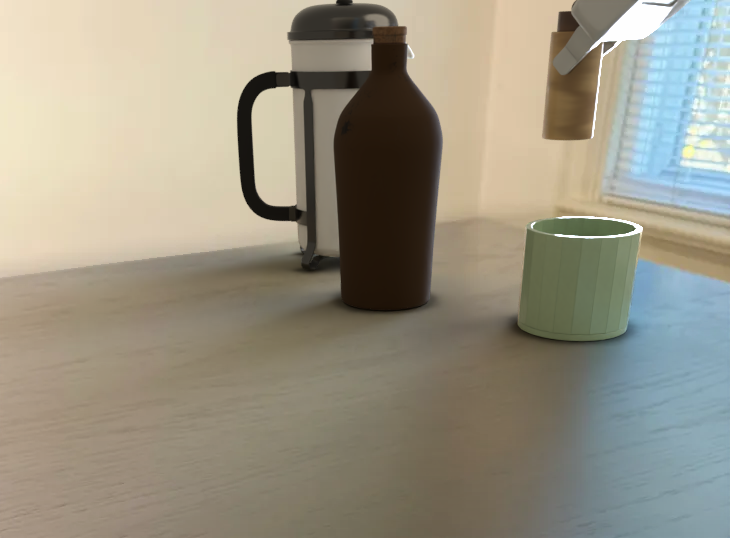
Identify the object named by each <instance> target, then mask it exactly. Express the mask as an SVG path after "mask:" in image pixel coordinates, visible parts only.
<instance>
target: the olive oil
mask: <svg viewBox="0 0 730 538" xmlns="http://www.w3.org/2000/svg"><path fill="white" fill-rule="evenodd" d="M407 35H408V27H407V26H405V25H398V26H384V27H373V44H371V64H372V70H371V73H370V75H369V77H368V78H367V80H366V81H365V82H364V84H363V85H362V86H361V87H360V89H359V90H358V91H357V93H356V94H355V95H354V96H353V98H352V99H351V100H350V101H349V103H348V104H347V105H346V106H345V108H344V109H343V111H342V112H341V114H340V116H339V119H338V122H337V126H336V130H335V134H334V143H333V147H334V164H335V180H336V196H337V214H338V232H339V252H340V257H339V275H340V276H339V277H340V298H341V301H342V302H343V303H344V304H346V305H347V306H350V307H353V308H357V309H363V310H369V311H370V310H372V311H400V310H408V309H412V308H418V307H421V306H423V305H426V304H427V303H428V302H429V301H430V298H431V289H432V275H433V274H432V273H433V260H434V247H435V246H434V245H435V236H436V235H435V234H436V223H437V211H438V199H439V190H440V189H439V188H440V178H441V169H442V157H443V144H444V138H443V137H444V136H443V130H442V126H441V121H440V117H439V115H438V113H437V111H436V109H435V108H434V106H433V105H432V103H431V102H430V101H429V99H428V98H427V97H426V96H425V94H424V93H423V92H422V90H420V88H419V87H418V86H417V84H416V83H415V82H414V81H413V79H412V78H411V76H410V74H409V72H408V59H407V50H408V45H409V44H408V42H407Z"/></svg>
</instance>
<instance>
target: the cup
mask: <svg viewBox="0 0 730 538" xmlns="http://www.w3.org/2000/svg"><path fill="white" fill-rule="evenodd" d="M643 230H644V229H643V227H642V226H641V225H639V224H637V223H634V222H631V221H627V220H622V219H616V218H608V217H599V216H598V217H597V216H596V217H595V216H557V217H547V218H540V219H539V218H538V219H535V220H533V221H530V222H528V223H527V224H525V227H524V239H523V250H522V261H521V272H520V282H519V283H520V284H519V294H518V307H517V326H518V328H519V329H521V331H524V332H525V333H528V334H530V335H533V336H536V337H541V338H545V339H550V340H557V341H570V342H594V341H603V340H604V341H605V340H609V339H614V338H618V337H620V336H622V335H623V334H625V333H626V332H627V330H628V324H629V322H630V316H631V308H632V307H631V306H632V304H633V303H632V302H633V295H634V290H635V289H634V288H635V282H636V275H637V269H638V263H639V257H640V249H641V243H642V237H643Z"/></svg>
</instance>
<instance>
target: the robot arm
mask: <svg viewBox="0 0 730 538" xmlns="http://www.w3.org/2000/svg"><path fill="white" fill-rule="evenodd" d="M575 1H576V0H575ZM575 1H574V2H575ZM691 1H692V0H577V1H576V2H575V4H574V6H573V7H572V6H571V8H572V9H571V8H570V11H571V13H572V15H573V17H574V18H575V20H576V21H577V22H578V24H579V25H580V26H579V27H578V28H577V29H576V30H575V32H574V33H573V35H572V36H571V38H570V40H569V41H568V43H567V44H566V46H565V47H564V48H563V49H562V50H561V51H560V52H559V54H558V55H557V56H556V57H555V58H554V59H553V66H554V67H555V68H556V70H557V71H558V72H559V73H560V74H561V75H566V74H570V73H571V72H572V71H573V70H574V69H575V68H576V67H577V66H578V65H579V64H580V63H581V62H582V59H583V58H584V57H585V56H586V55H587V54H588V53H589V52H590V51H591V50H592V49H593V48H594V47H596V46H597V45H598V44H599V43H600V42H601V41H604V45H603V53H602V58H603V57H604V56H605V55H607V54H609V52H611V51H612V50H613V49H614V48H616V47H617V46H618V45H619V44H620V43H621V42H622V41H626V40H642V39H644V38H646V37H648V36H649V35H650V34H652V33H653V32H655V31H657V29H659V28H661V26H662V25H664V24H665V23H666V22H667V21H668V20H670V19H671V18H672V17H673V16H674V15H676V14H677V13H678V12H679V11H681V9H682V8H684V7H686V5H687V4H689V3H690V2H691Z"/></svg>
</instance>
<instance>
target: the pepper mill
mask: <svg viewBox="0 0 730 538" xmlns="http://www.w3.org/2000/svg"><path fill="white" fill-rule="evenodd" d="M576 1H577V0H574V1H573V3H572V5H571V8H570V10H563V11H558V14H557V15H558V16H557V27H556V31H552V32H551V33H550V43H549V44H550V45H549V54H548V66H547V74H546V75H547V76H546V87H545V97H544V98H545V99H544V109H543V120H542V130H541V131H542V132H541V138H542V139H543V140H547V141H548V140H549V141H586V140H592V139H593V137H594V130H595V122H596V113H597V105H598V96H599V87H600V80H601V79H600V77H601V69H602V61H603V57H602V53H603V45H604V41H601V42H600V43H599V44H598V45H597V46H596V47H594V48H593V49H592V50H591V51H590V52H589V53H588V54H587V55H586V56H585V57H584V58H583V59H582V62H581V63H580V64H579V65H578V66H577V67H576V68H575V69H574V70H573V71H572V72H571V73H570V74H566V75H561V74H560V73H559V72H558V71H557V70H556V68H555V67H554V66H553V59H554V58H555V57H556V56H557V55H558V54H559V52H560V51H561V50H562V49H563V48H564V47H565V46H566V44H567V43H568V41H569V40H570V38H571V36H572V35H573V33H574V32H575V30H576V29H577V28H578V27H579V26H580V25H579V24H578V22H577V21H576V20H575V18H574V17H573V15H572V13H571V9H572V7H573V6H574V4H575V2H576Z"/></svg>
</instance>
